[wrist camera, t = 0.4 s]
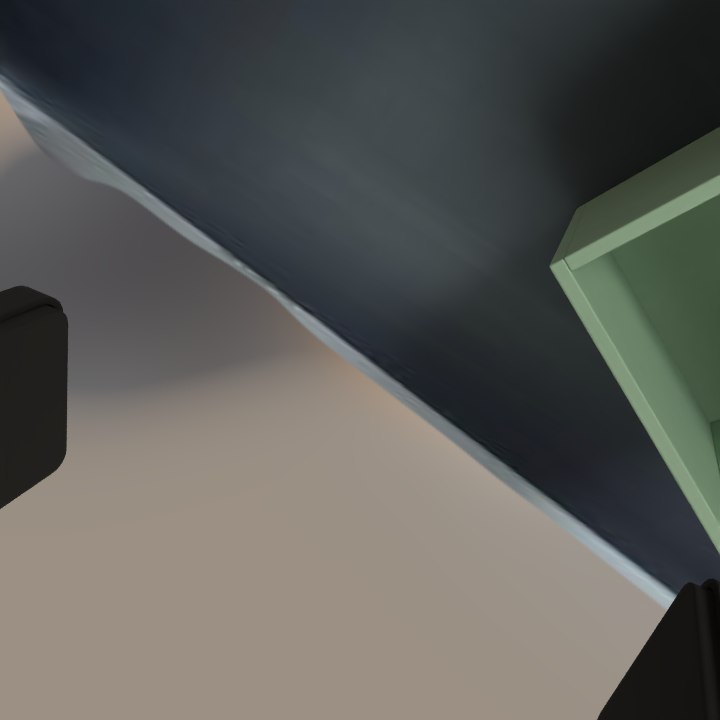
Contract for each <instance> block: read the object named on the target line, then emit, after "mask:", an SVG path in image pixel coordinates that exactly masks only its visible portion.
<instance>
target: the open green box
mask: <svg viewBox="0 0 720 720" xmlns="http://www.w3.org/2000/svg"><path fill="white" fill-rule="evenodd" d="M550 269H551V271H552V272H553V274H554V276H555V277H556V279H557V281H558V282H559V284H560V286H561V287H562V289H563V291H564V293H565V294H566V296H567V298H568V299H569V301H570V303H571V304H572V306H573V308H574V309H575V311H576V313H577V314H578V316H579V318H580V320H581V321H582V323H583V325H584V326H585V328H586V330H587V331H588V333H589V335H590V336H591V338H592V340H593V341H594V343H595V345H596V347H597V348H598V350H599V352H600V353H601V355H602V357H603V358H604V360H605V362H606V363H607V365H608V367H609V368H610V370H611V372H612V374H613V375H614V377H615V379H616V380H617V382H618V384H619V385H620V387H621V389H622V390H623V392H624V394H625V395H626V397H627V399H628V401H629V402H630V404H631V406H632V407H633V409H634V411H635V412H636V414H637V416H638V417H639V419H640V421H641V422H642V424H643V426H644V428H645V429H646V431H647V433H648V434H649V436H650V438H651V439H652V441H653V443H654V444H655V446H656V448H657V449H658V451H659V453H660V454H661V456H662V458H663V460H664V461H665V463H666V465H667V466H668V468H669V470H670V471H671V473H672V475H673V476H674V478H675V480H676V481H677V483H678V485H679V487H680V488H681V490H682V492H683V493H684V495H685V497H686V498H687V500H688V502H689V503H690V505H691V507H692V508H693V510H694V512H695V514H696V515H697V517H698V519H699V520H700V522H701V524H702V525H703V527H704V529H705V530H706V532H707V534H708V535H709V537H710V539H711V541H712V542H713V544H714V546H715V547H716V549H717V551H718V552H719V554H720V127H718V128H717V129H715V130H713V131H711V132H710V133H708V134H706V135H704V136H703V137H701V138H699V139H697V140H696V141H694V142H692V143H690V144H689V145H687V146H685V147H683V148H682V149H680V150H678V151H676V152H675V153H673V154H671V155H669V156H668V157H666V158H664V159H662V160H661V161H659V162H657V163H655V164H654V165H652V166H650V167H648V168H647V169H645V170H643V171H641V172H640V173H638V174H636V175H634V176H633V177H631V178H629V179H627V180H626V181H624V182H622V183H620V184H619V185H617V186H615V187H613V188H612V189H610V190H608V191H606V192H605V193H603V194H601V195H600V196H598V197H596V198H594V199H593V200H591V201H589V202H587V203H586V204H584V205H582V206H580V207H579V208H577V209H576V211H575V213H574V216H573V218H572V220H571V222H570V224H569V226H568V228H567V230H566V232H565V234H564V237H563V239H562V241H561V243H560V245H559V247H558V249H557V251H556V253H555V255H554V257H553V260H552V262H551V264H550Z"/></svg>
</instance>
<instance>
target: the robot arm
mask: <svg viewBox="0 0 720 720" xmlns="http://www.w3.org/2000/svg"><path fill="white" fill-rule="evenodd" d="M67 362H68V321H67V317H66V315H65V314H64V313H63V308H62V306H61V304H60V302H59V301H58V300H56V299H55V298H53V297H50V296H48V295H46V294H43V293H41V292H38V291H36V290H34V289H31V288H29V287H26V286H17V287H13V288H10V289H7V290H4V291H2V292H0V509H1V508H2V507H4V506H5V505H7V504H8V503H10V502H11V501H13V500H14V499H15V498H17V497H18V496H20V495H21V494H23V493H24V492H26V491H27V490H29V489H30V488H32V487H33V486H34V485H36V484H37V483H39V482H40V481H41V480H43V479H45V478H46V477H47V476H49V475H50V474H52V473H53V472H54V471H56V470H57V469H58V467H59V466H60V465H61V463H62V462H63V460H64V457H65V455H66V441H67ZM597 720H720V581H717V580H715V579H708V580H707V581H705V582H704V583H703V584H702V585H701V586H698V585H696V584H694V583H691V582H690V583H687V584H686V585H684V587H683V588H682V589H681V591H680V592H679V594H678V595H677V597H676V598H675V600H674V601H673V603H672V604H671V606H670V607H669V609H668V610H667V612H666V614H665V615H664V617H663V618H662V620H661V621H660V623H659V624H658V626H657V627H656V629H655V630H654V632H653V633H652V635H651V636H650V638H649V640H648V641H647V642H646V644H645V645H644V647H643V649H642V650H641V652H640V653H639V655H638V656H637V658H636V659H635V661H634V662H633V664H632V665H631V667H630V669H629V670H628V672H627V673H626V675H625V676H624V678H623V679H622V681H621V682H620V684H619V685H618V687H617V688H616V690H615V691H614V693H613V694H612V696H611V697H610V699H609V700H608V702H607V704H606V705H605V707H604V708H603V710H602V711H601V713H600V715H599V717H598V719H597Z"/></svg>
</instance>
